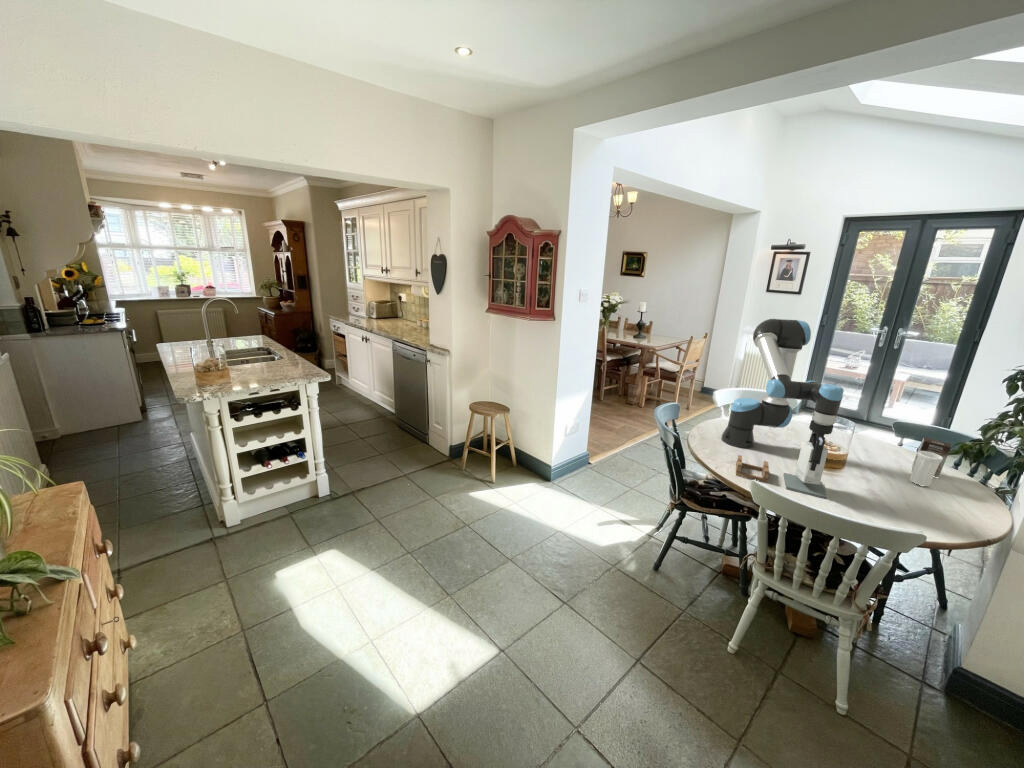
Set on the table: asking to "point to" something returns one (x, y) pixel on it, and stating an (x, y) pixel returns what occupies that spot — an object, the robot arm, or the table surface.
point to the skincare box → (804, 463)
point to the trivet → (804, 486)
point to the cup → (925, 467)
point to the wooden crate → (764, 470)
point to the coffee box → (935, 451)
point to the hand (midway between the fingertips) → (808, 471)
